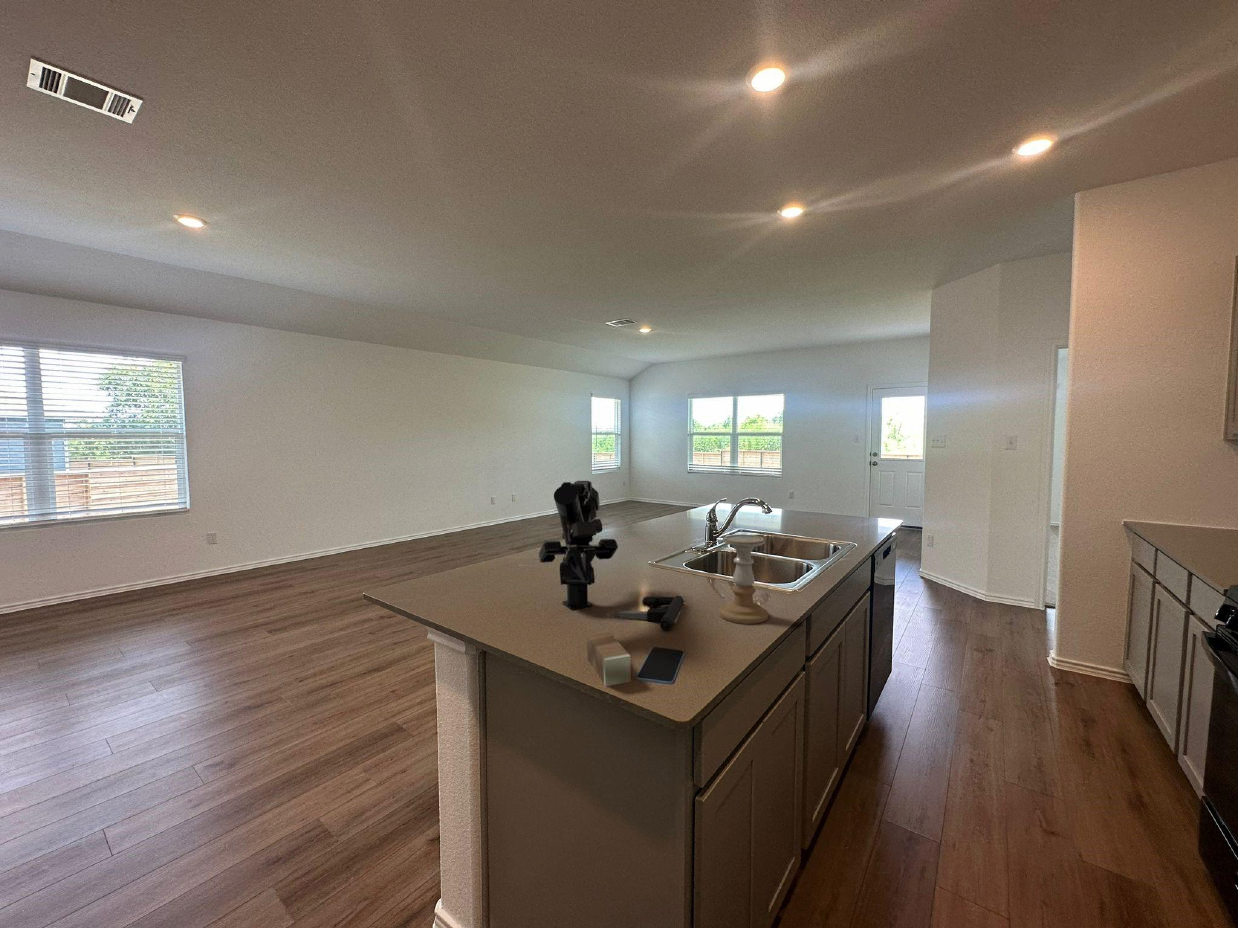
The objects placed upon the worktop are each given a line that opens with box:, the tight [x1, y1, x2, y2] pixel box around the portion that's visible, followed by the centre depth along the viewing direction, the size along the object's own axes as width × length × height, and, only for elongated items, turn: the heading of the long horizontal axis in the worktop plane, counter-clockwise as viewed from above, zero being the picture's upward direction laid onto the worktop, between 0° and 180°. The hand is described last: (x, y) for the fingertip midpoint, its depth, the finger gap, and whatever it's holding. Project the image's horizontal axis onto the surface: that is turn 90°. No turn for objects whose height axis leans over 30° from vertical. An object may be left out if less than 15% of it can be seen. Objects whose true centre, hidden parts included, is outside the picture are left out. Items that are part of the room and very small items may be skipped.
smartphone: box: [636, 646, 685, 685], centre depth 102 cm, size 7×1×15 cm
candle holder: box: [718, 534, 769, 625], centre depth 129 cm, size 12×12×20 cm
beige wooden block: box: [586, 632, 632, 687], centre depth 100 cm, size 5×5×12 cm
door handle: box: [617, 595, 687, 632], centre depth 130 cm, size 3×20×16 cm
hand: (586, 581), depth 118 cm, fingers closed
